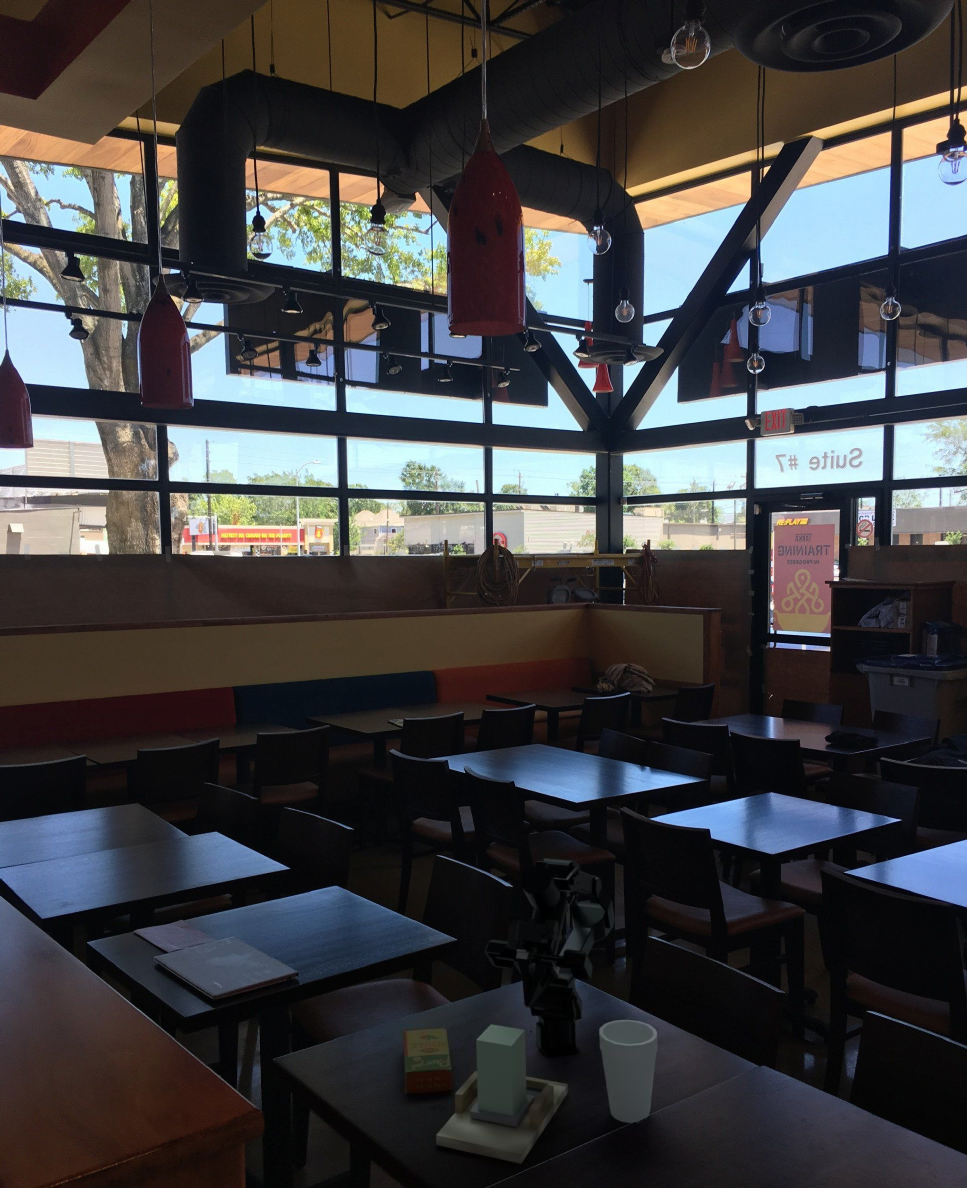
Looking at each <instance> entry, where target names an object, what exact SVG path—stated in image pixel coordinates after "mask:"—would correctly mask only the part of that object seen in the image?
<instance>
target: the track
mask: <svg viewBox="0 0 967 1188" xmlns="http://www.w3.org/2000/svg"><path fill="white" fill-rule="evenodd" d="M568 1085H569V1084H568V1083H563V1082H558V1081H552V1080H547V1079H541V1078H536V1077H531V1076H526V1094H527V1095H532V1096H534V1099H535V1102H534V1103H533V1104H532V1106H531V1107H530V1109H529V1111H528V1112H527V1113H526V1115H525V1116H524V1118H523V1119H522V1120H521V1122H520V1123H519V1125H518V1126H517V1127H514V1126H509V1125H504V1124H499V1123H494V1122H490V1121H485V1120H480V1119H475V1118H471V1117H470V1110H471V1109H472V1108H473V1106H474V1105H475V1104H476V1103H477V1102H478V1090H477V1070H475V1071H473V1073H472V1074H471V1075H469V1077H468V1078H467V1080H466V1081H465V1082H463V1084H462V1085H461V1087H459V1089H458V1090H457V1091H456V1092H454V1093H455V1094H454V1104H455V1105H454V1108H455V1113H454V1114H453V1115H451V1117H450V1118H449V1119H448V1121H447V1122H446V1123H445V1125H443V1126H442V1128H441V1129H440V1130H439V1131H438V1132H437V1134H435V1137H436V1139H435V1141H436V1144H435V1145H436V1146H440V1147H444V1148H449V1149H453V1150H458V1151H462V1152H466V1153H467V1152H468V1153H471V1154H475V1155H481V1156H484V1157H490V1158H494V1159H498V1160H503V1161H506V1162H510V1163H516V1164H520V1165H522V1163H523V1162H524V1160H525V1159H526V1157H527V1155H528V1154H529V1153H530V1151H531V1149H532V1148H533V1147H534V1145H535V1144H536V1142H537V1141H538V1139H539V1138H540V1136H541V1135H542V1133H543V1132H544V1130H545V1129H546V1127H547V1126H548V1124H549V1123H550V1122H551V1119H552V1118H553V1116H554V1115H555V1114H556V1112H557V1110H558V1109H559V1107H560V1105H561V1104H562V1103H563V1101H565V1098H566V1096H567V1095H568V1093H569V1088H568Z"/></svg>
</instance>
